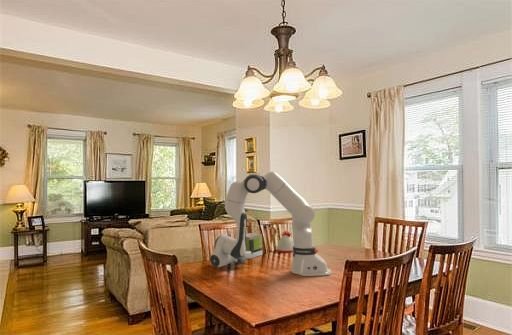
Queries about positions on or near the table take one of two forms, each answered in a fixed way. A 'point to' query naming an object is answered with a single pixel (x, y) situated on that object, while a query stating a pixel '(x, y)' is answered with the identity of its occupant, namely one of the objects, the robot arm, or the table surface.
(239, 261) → the french press
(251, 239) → the tea box
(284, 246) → the kitchen timer
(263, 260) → the table surface
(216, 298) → the table surface
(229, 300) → the table surface
